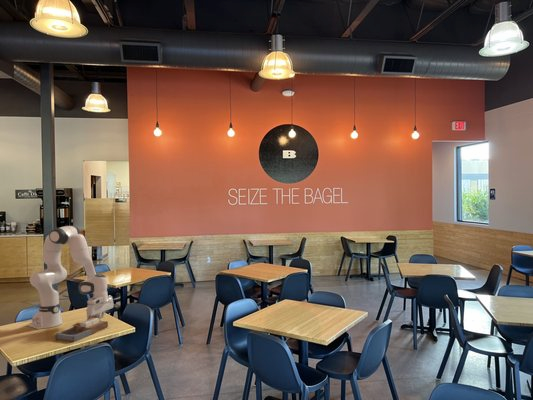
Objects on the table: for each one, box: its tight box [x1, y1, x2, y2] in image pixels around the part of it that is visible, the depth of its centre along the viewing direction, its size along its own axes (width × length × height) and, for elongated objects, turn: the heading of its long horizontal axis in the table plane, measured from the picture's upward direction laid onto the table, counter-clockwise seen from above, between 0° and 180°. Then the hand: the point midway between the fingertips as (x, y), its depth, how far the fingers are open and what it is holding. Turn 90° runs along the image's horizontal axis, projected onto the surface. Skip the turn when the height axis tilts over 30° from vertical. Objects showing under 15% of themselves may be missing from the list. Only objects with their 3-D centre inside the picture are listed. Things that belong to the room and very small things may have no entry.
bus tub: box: [55, 326, 91, 343], centre depth 233 cm, size 15×13×4 cm
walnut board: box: [73, 320, 109, 336], centre depth 246 cm, size 15×14×4 cm
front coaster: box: [79, 319, 93, 327], centre depth 243 cm, size 5×5×2 cm
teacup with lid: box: [86, 309, 101, 321], centre depth 264 cm, size 12×9×12 cm
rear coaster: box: [89, 318, 99, 324], centre depth 248 cm, size 5×5×2 cm
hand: (101, 318), depth 254 cm, fingers closed
